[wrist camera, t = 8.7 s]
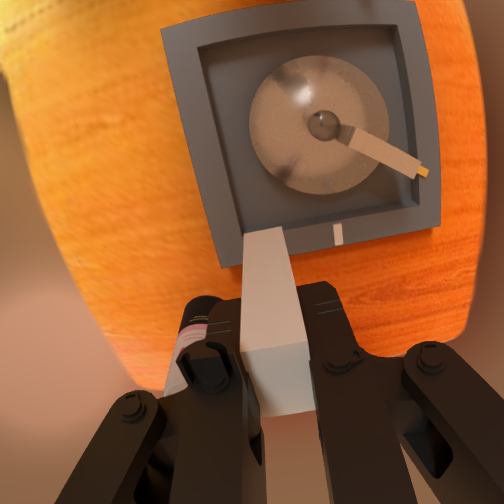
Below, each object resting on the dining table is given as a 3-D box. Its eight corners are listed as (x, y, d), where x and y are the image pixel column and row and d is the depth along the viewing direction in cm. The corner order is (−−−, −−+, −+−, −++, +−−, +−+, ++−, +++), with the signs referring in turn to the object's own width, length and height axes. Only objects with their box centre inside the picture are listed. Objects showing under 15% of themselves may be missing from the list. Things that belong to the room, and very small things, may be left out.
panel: (168, 35, 27) (159, 28, 24) (402, 7, 24) (416, 0, 21) (223, 255, 38) (221, 269, 35) (428, 216, 36) (441, 227, 33)
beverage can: (229, 335, 44) (224, 425, 30) (183, 328, 43) (162, 415, 29) (237, 297, 41) (233, 389, 27) (186, 289, 40) (162, 378, 27)
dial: (229, 162, 32) (224, 177, 26) (277, 37, 26) (285, 21, 20) (362, 212, 34) (385, 237, 28) (410, 101, 29) (444, 104, 22)
